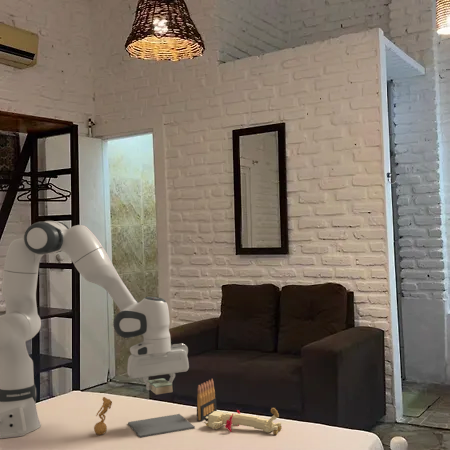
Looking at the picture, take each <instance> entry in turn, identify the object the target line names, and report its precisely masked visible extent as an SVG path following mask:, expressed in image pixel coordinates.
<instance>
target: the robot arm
mask: <svg viewBox="0 0 450 450" xmlns="http://www.w3.org/2000/svg"><path fill="white" fill-rule="evenodd" d="M61 252H64V253H65V254H66V255H67V256H68V257H69V259H70V260H71V262H72V263H73V265H74V267H75V268H76V270H77V271H78V273H79V274H80V276H82V278H83V279H84V280H86V281H87V282H89V283H92V284H95V285H98V286H99V287H101V288H103V289H104V290H105V291H106V292H107V293H108V295H109V296H110V297H111V298H112V299H111V300H113V302H114V304H115V305H116V307H118V309H119V312H118V313H117V314H115V317H114V319H113V325H112V326H113V329H114V331H115V333H116V334H117V335H118V336H119V337H121V338H124V339H132V338H135V337H138V336H142V337H143V341H141V342H139V343H137V344H134V345H132V346H131V347H129V352H130V355H129V357H128V359H127V369H126V370H127V376H128V377H129V379H132V380H134V379H140V378H142V381H143V382H144V384H145V385H146V386H145V387H146V388H145V389H146V391H151V390H152V384H149V383H148V380H149V377H156V376H163V375H169V376H170V377H169V379H168V380H167V381H168V382H170V383H171V384H172V385H173V381H174V380H175V378H176V374H177V373H184V372H187V371H188V370H189V368H190V364H189V363H190V362H189V358H188V353H189V348H188V346H187V344H184V343H182V342H181V343H174V344H172V343H171V342H172V340H171V333H170V325H171V322H170V321H171V319H170V311H169V310H170V309H169V305H168V303H167V301H166V299H165V298H161V297H158V296H145V297H144V298H143V299H141V300H140V301H138V300H137V299H136V298H135V297H134V295H133V294H132V292H131V291H130V290H129V288H128V286H127V285H126V283H125V282H124V280H123V279H122V278H121V276H120V275H119V274H118V271H117V269H116V268H115V266H114V264H113V262H112V260H111V258H110V256H109V255H108V253H107V251H106V249H105V248H104V247H103V245H102V244H101V242H100V240H99V239H98V238H97V236H96V235H95V234H94V233H93V232H92V230H90V229H89V228H88V227H87V226H86V225H84V224H77V225H73V226H71V227H68V225H67V224H65V223H63V222H60V221H54V220H45V221H37V222H34V223H33V224H31V225H29V226H28V228H26V229H25V232H24V235H23V237H20V238H16V239H13V240H12V241H11V242H10V244H9V246H8V248H7V252H6V255H5V259H4V265H3V272H2V274H3V275H2V282H1V296H2V297H3V299H4V301H5V313H4V314H0V439H5V438H14V437H15V438H17V437H23V436H25V435H26V434H28V433H30V432H33V431H35V430H38V429H39V428H41V425H42V424H41V421H40V419H39V415H38V410H37V405H36V404H37V403H36V401H37V387H36V384H35V379H34V378H35V376H34V375H35V374H34V360H33V359H32V358H31V357H30V355H29V352H28V349H27V345H26V342H28V341H30V340H31V339H33V338H35V336H36V335H37V334H38V333H39V332H40V330H41V328H42V320H41V317H40V315H39V313H38V307H37V306H38V305H37V304H38V303H37V286H38V277H39V276H38V275H39V268H40V263H41V262H40V261H41V259H42V257H43V256H44V255H53V254H57V253H61Z"/></svg>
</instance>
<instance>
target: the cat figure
mask: <svg viewBox="0 0 450 450" xmlns="http://www.w3.org/2000/svg"><path fill="white" fill-rule="evenodd" d="M270 413H271V414H273V415H272V416H271V417H270V418H269V419H268V418H263V417H260V416H257V415H256V416H255V415H250V414H245V413H241V412H240V410H238V409H236V412H235V413H232V412H226V413H225V412H223V411H218V410H217V411H214V412H213V413H211V414H210V415H208V417H206V418H205V420H204V421H203V424H205V426H206V427H209V428H212V429H213V430H218V429H220V428H221V427H222V426H224V427H225V429H227V430H228V431H229V433H232V425H233V426H237V427H239V426H242V427H243V426H244V427H251V428H253V429H256V430H262V431H263V432H265V433H269V434H270V433H271V432H272V433H273V435H275V436H277V435H278V433H279V432H281V431H282V422H280V421H278V422H276V423H275V422H273V421H275V420H277V419H278V418H279V417H280V414H279V412H278V410H277V409H276V407H271V409H270Z"/></svg>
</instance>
